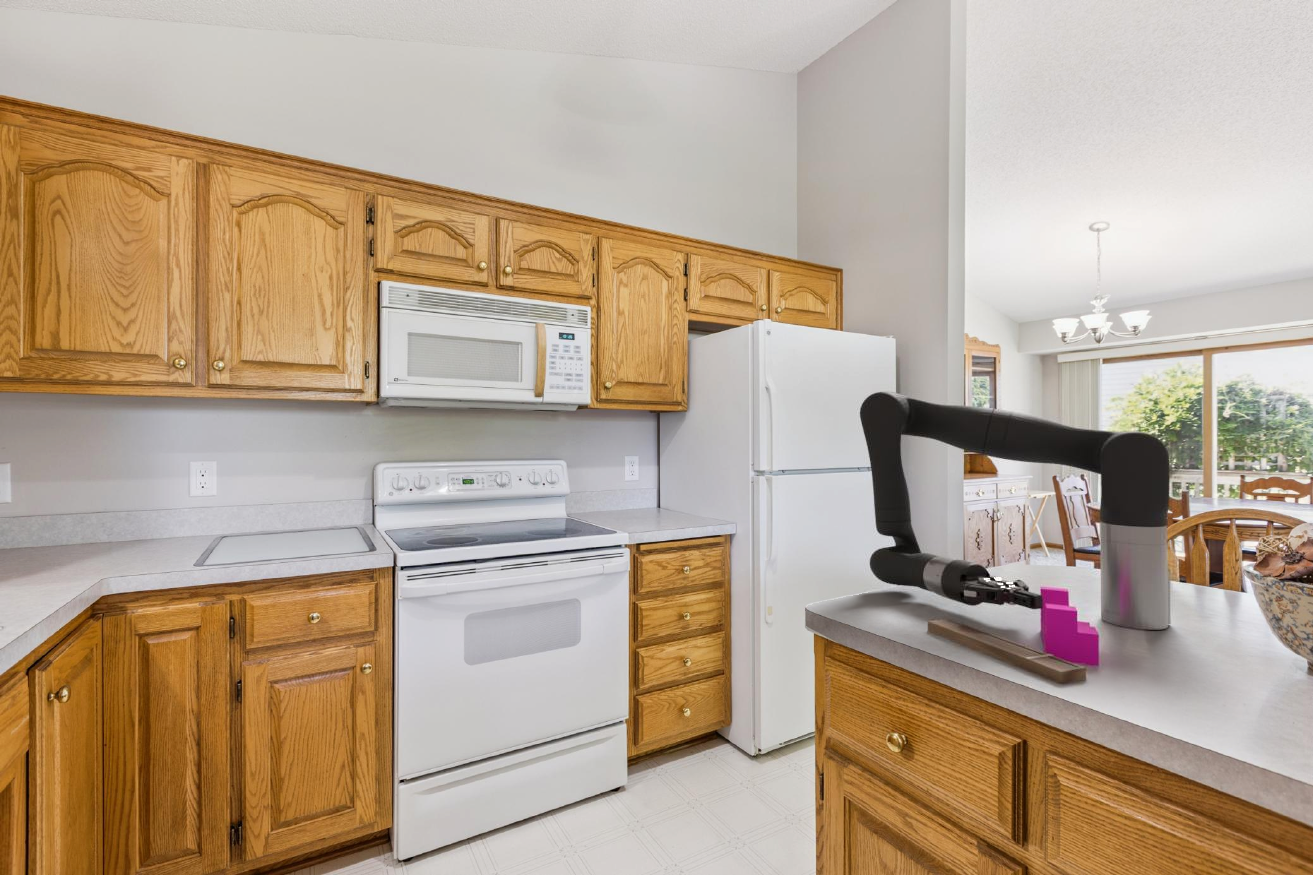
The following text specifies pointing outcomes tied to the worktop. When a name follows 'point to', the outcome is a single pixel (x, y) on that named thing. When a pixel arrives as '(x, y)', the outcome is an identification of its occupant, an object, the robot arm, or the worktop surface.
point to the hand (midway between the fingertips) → (1039, 602)
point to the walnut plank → (1009, 651)
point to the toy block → (1066, 629)
